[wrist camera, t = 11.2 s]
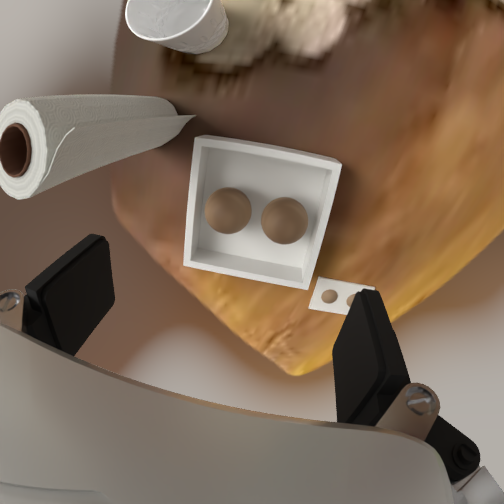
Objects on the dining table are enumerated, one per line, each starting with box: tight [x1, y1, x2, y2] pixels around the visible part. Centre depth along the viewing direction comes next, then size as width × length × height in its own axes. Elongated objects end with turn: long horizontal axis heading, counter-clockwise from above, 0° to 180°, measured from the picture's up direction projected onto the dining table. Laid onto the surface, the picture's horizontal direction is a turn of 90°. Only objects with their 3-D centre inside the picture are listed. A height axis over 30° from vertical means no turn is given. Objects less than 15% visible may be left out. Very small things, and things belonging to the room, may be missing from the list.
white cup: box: [125, 0, 229, 54], centre depth 21 cm, size 8×8×10 cm
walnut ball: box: [205, 187, 252, 234], centre depth 31 cm, size 5×5×5 cm
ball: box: [261, 197, 308, 245], centre depth 31 cm, size 5×5×5 cm
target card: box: [309, 276, 375, 315], centre depth 38 cm, size 8×5×1 cm, turn 81°
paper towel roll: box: [0, 95, 197, 200], centre depth 21 cm, size 7×6×21 cm
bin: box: [183, 135, 342, 290], centre depth 32 cm, size 15×15×4 cm
